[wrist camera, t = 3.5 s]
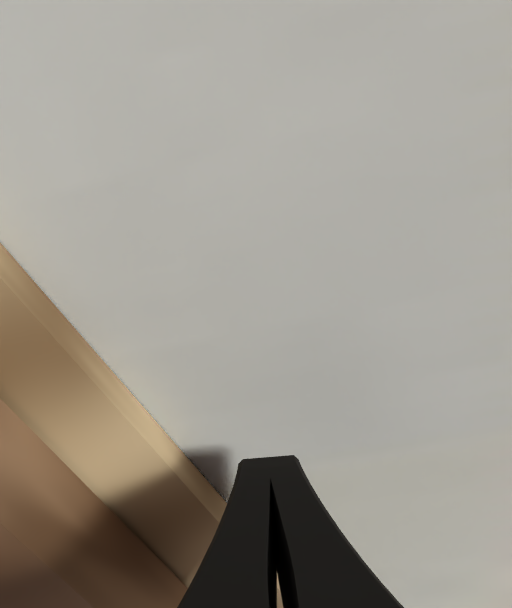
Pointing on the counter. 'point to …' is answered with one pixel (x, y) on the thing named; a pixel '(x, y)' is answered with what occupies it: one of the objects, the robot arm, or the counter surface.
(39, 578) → the link
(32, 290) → the oak board
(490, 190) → the counter surface
